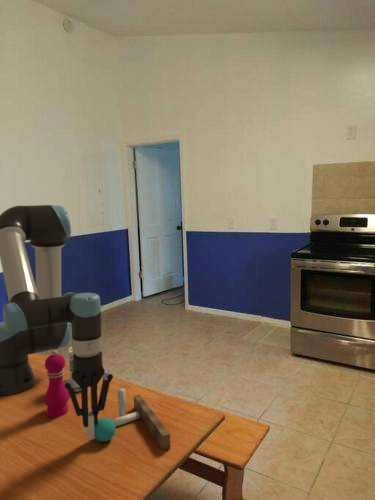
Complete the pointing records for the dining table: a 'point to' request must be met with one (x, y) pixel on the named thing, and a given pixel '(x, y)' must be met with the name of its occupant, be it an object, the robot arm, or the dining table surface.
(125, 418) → the ivory pin
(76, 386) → the syrup box
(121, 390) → the grey pin
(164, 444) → the back wall
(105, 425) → the ball
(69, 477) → the dining table surface
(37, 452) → the dining table surface
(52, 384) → the pepper mill
